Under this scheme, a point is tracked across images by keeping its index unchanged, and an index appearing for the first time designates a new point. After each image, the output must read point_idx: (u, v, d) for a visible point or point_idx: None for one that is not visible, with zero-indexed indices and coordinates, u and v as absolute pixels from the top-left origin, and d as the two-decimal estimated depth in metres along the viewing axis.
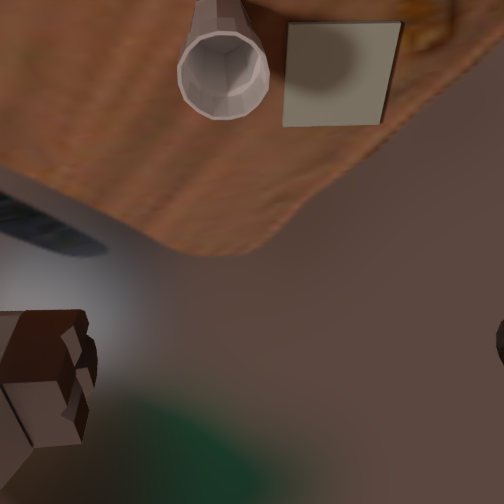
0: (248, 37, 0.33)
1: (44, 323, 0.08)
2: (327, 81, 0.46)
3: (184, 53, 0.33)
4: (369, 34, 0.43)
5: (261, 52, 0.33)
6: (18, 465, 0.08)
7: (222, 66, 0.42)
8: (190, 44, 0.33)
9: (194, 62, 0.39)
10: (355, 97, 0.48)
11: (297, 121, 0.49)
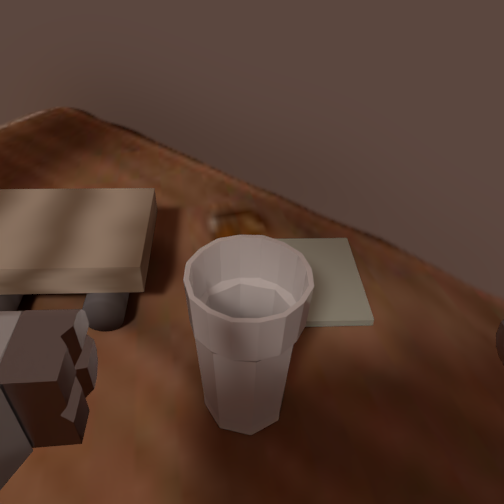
0: None
1: (44, 323, 0.08)
2: None
3: (212, 313, 0.23)
4: None
5: (213, 242, 0.27)
6: (18, 465, 0.08)
7: None
8: (200, 307, 0.23)
9: None
10: (319, 259, 0.42)
11: (362, 306, 0.38)
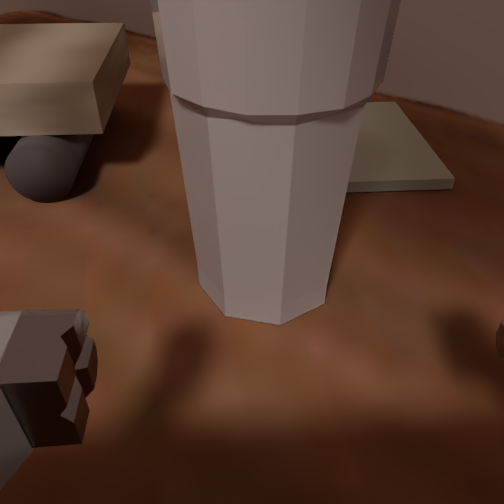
0: None
1: (44, 323, 0.08)
2: None
3: None
4: None
5: None
6: (18, 465, 0.08)
7: None
8: None
9: None
10: (361, 121, 0.29)
11: (433, 164, 0.25)
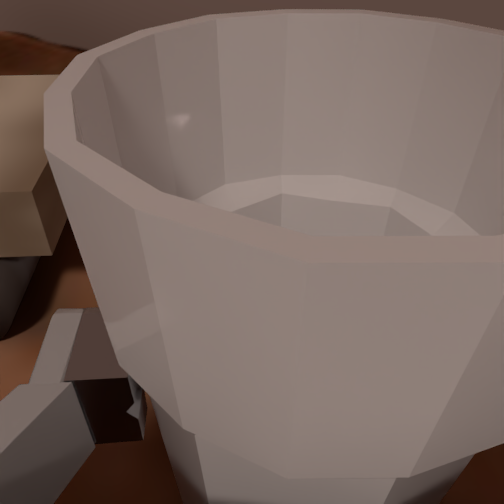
0: None
1: None
2: None
3: (172, 216, 0.03)
4: None
5: (194, 19, 0.07)
6: (82, 461, 0.08)
7: None
8: (101, 191, 0.04)
9: None
10: None
11: None
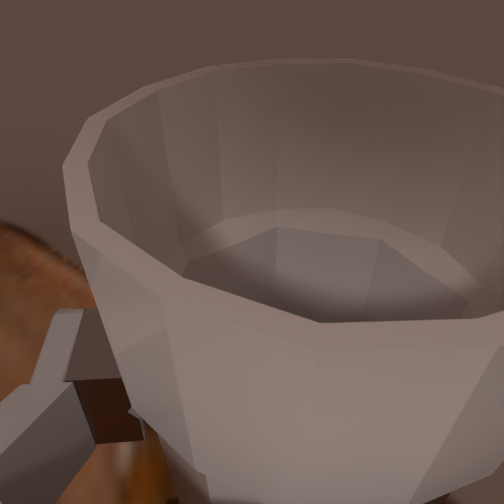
0: None
1: None
2: None
3: (194, 303, 0.04)
4: None
5: (194, 72, 0.08)
6: (83, 461, 0.08)
7: None
8: (126, 275, 0.04)
9: None
10: None
11: None
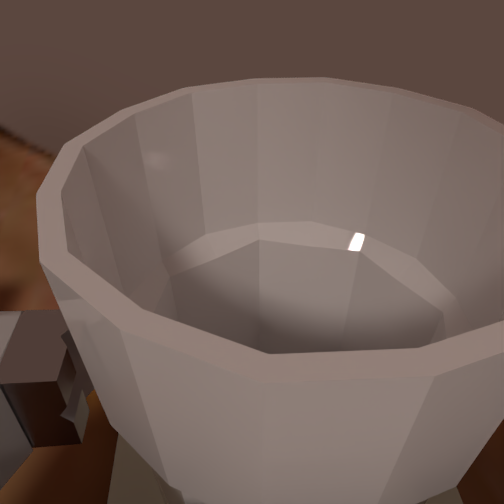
0: None
1: (44, 323, 0.08)
2: None
3: (151, 335, 0.04)
4: None
5: (171, 94, 0.08)
6: (18, 465, 0.08)
7: None
8: (90, 306, 0.04)
9: None
10: None
11: None
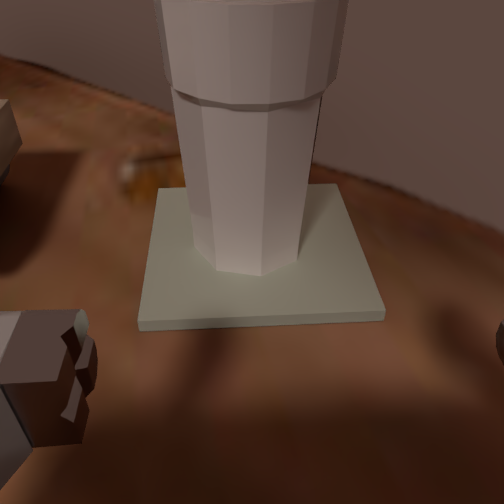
0: None
1: (44, 323, 0.08)
2: None
3: (197, 1, 0.14)
4: (173, 215, 0.25)
5: None
6: (18, 465, 0.08)
7: None
8: (178, 0, 0.15)
9: None
10: None
11: (362, 286, 0.21)
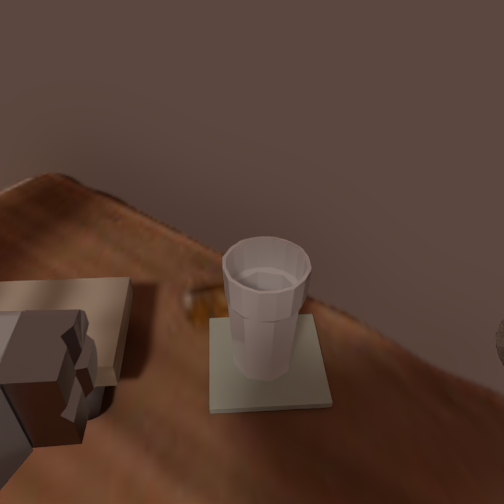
0: None
1: (44, 323, 0.08)
2: None
3: (245, 288, 0.34)
4: (220, 339, 0.45)
5: (239, 242, 0.38)
6: (18, 465, 0.08)
7: None
8: (236, 285, 0.34)
9: None
10: None
11: (322, 388, 0.40)
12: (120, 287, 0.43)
